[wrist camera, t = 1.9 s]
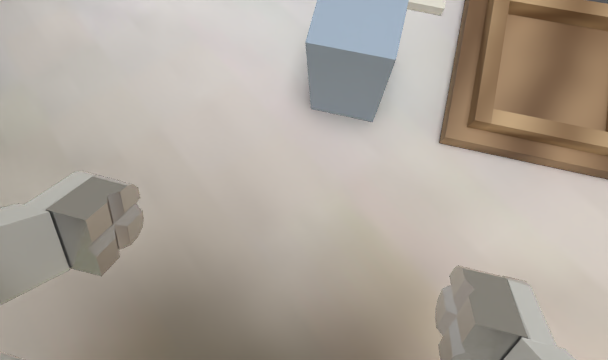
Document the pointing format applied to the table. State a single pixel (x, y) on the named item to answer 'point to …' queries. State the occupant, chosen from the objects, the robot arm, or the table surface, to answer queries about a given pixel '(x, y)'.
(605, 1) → the plate
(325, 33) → the block
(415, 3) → the cream rectangular block
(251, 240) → the table surface
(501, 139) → the tray
